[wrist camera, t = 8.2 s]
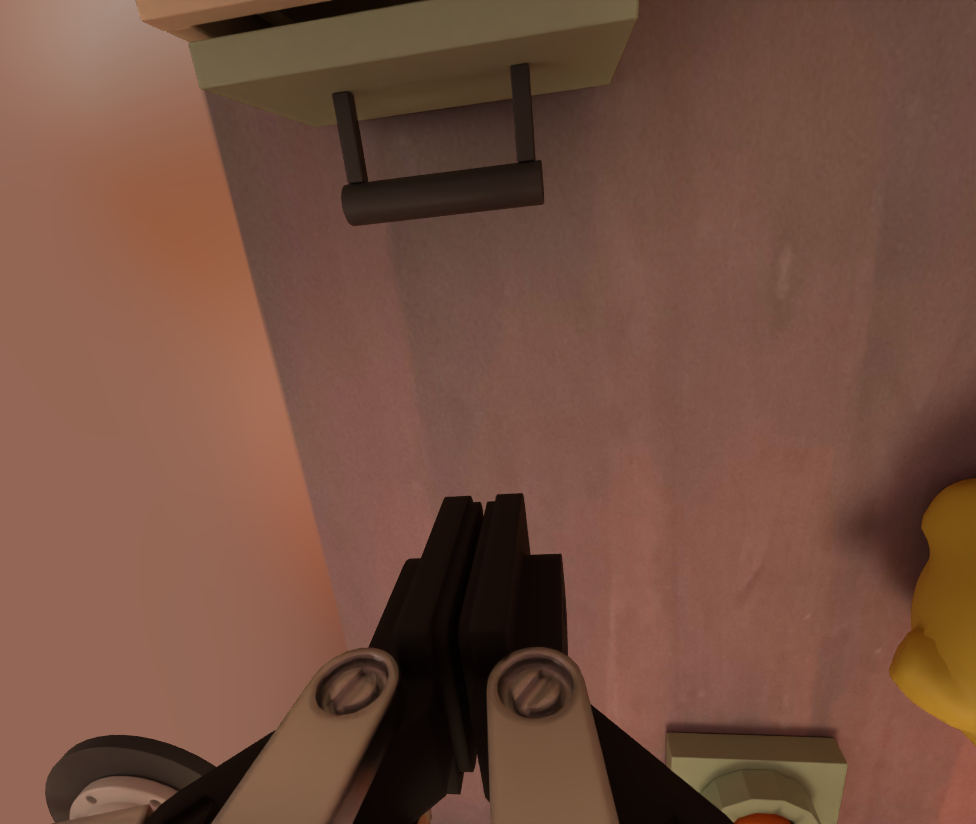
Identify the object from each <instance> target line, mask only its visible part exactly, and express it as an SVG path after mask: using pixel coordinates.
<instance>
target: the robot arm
mask: <svg viewBox="0 0 976 824" xmlns="http://www.w3.org/2000/svg"><path fill="white" fill-rule="evenodd" d="M477 755H478V760H479V766H480V771H481V777H482V782H483V788H484V793H485V797H486V799H487V800H488V801H489V802H490V819H491V824H734V823H733V822H732V821H731V819H730V818H729V817H728V816H727V815H726V814H724V813H723V812H722V811H721V810H720V809H718V808H717V807H716V806H715V805H713V804H712V803H711V802H710V801H709V800H707V799H706V798H705V797H704V796H702V795H701V794H700V793H699V792H697V791H696V790H695V789H694V788H693V787H691V786H690V785H689V784H688V783H686V782H685V781H684V780H683V779H682V778H680V777H679V776H678V775H677V774H675V773H674V772H673V771H672V770H671V769H669V768H668V767H667V766H666V765H664V764H663V763H662V762H661V761H660V760H658V759H657V758H656V757H655V756H653V755H652V754H651V753H650V752H649V751H647V750H646V749H645V748H644V747H642V746H641V745H640V744H639V743H638V742H636V741H635V740H634V739H633V738H631V737H630V736H629V735H628V734H627V733H625V732H624V731H623V730H622V729H620V728H619V727H618V726H617V725H616V724H614V723H613V722H612V721H611V720H609V719H608V718H607V717H606V716H605V715H603V714H602V713H601V712H600V711H598V710H597V709H596V708H595V707H593V706H592V705H591V704H590V701H589V697H588V693H587V689H586V685H585V681H584V678H583V675H582V673H581V671H580V669H579V667H578V665H577V664H576V663H575V662H574V661H573V660H572V659H571V658H570V657H568V639H567V613H566V597H565V584H564V573H563V562H562V555H561V554H541V555H530V547H529V538H528V529H527V520H526V512H525V503H524V496H523V493H517V494H498V495H497V496H496V500H495V501H491V502H487V505H486V509H485V513H484V516H483V509H482V505H481V502H473V500H472V497H471V496H456V497H445V498H444V500H443V503H442V505H441V508H440V510H439V513H438V515H437V518H436V521H435V523H434V526H433V528H432V531H431V534H430V536H429V539H428V541H427V544H426V546H425V549H424V552H423V554H422V557H421V558H414V559H408V560H407V561H406V562H405V564H404V566H403V568H402V570H401V573H400V575H399V577H398V580H397V582H396V584H395V587H394V589H393V591H392V594H391V596H390V598H389V601H388V603H387V605H386V608H385V610H384V612H383V615H382V617H381V619H380V622H379V624H378V626H377V629H376V631H375V633H374V636H373V638H372V640H371V643H370V645H369V647H368V648H358V649H354V650H350V651H347V652H345V653H343V654H340V655H338V656H336V657H334V658H333V659H331V660H330V661H329V662H327V663H326V664H325V665H323V666H322V667H321V668H320V669H319V670H318V672H317V673H316V674H315V675H314V676H313V678H312V679H311V680H310V682H309V683H308V684H307V686H306V687H305V689H304V690H303V692H302V693H301V695H300V696H299V698H298V699H297V700H296V702H295V703H294V705H293V706H292V708H291V709H290V710H289V712H288V713H287V715H286V716H285V718H284V719H283V721H282V722H281V723H280V725H279V726H278V728H277V729H276V730H275V731H273V732H271V733H270V734H268V735H267V736H265V737H264V738H262V739H260V740H259V741H257V742H256V743H254V744H252V745H251V746H249V747H248V748H246V749H244V750H243V751H241V752H240V753H238V754H237V755H235V756H233V757H232V758H230V759H229V760H227V761H226V762H224V763H222V764H221V765H219V766H218V767H216V768H214V769H213V770H211V771H210V772H208V773H206V774H205V775H203V776H202V777H200V778H198V779H197V780H195V781H194V782H192V783H191V784H189V785H187V786H186V787H184V788H183V789H181V790H179V791H178V790H176V789H174V788H172V787H170V786H167V785H165V784H162V783H160V782H157V781H154V780H150V779H146V778H142V777H135V776H110V777H105V778H101V779H98V780H96V781H94V782H92V783H90V784H89V785H88V786H87V787H85V788H84V789H83V791H82V792H81V793H80V794H79V796H78V797H77V798H76V800H75V801H74V802H73V804H72V806H71V809H70V820H68V821H63V822H58V823H53V824H430V823H431V818H432V815H431V808H432V807H433V806H434V805H435V804H436V803H438V802H439V801H440V800H441V799H442V798H443V797H445V796H446V794H461V788H462V781H463V775H464V772H473V771H474V769H475V764H476V757H477Z"/></svg>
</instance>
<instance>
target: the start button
mask: <svg viewBox="0 0 976 824" xmlns="http://www.w3.org/2000/svg"><path fill="white" fill-rule="evenodd" d="M734 824H791V822H790V821H789V820H788V819H786V818H784V817H782V816H780V815H777V814H765V813H754V814H751V815H748V816H744V817H741V818H738V819H737V820H736V821H735V822H734Z"/></svg>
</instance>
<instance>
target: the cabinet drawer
mask: <svg viewBox="0 0 976 824" xmlns="http://www.w3.org/2000/svg"><path fill="white" fill-rule="evenodd" d="M257 15H258V16H260V17H261V18H263V19H264V20H266V21H268V22H269V23H271V24H272V25H274V26H275V27H272V28H266V29H261V30H255V31H249V32H244V33H238V34H233V35H227V36H221V37H216V38H210V39H205V40H199V41H193V42H190V43H189V48H190V52H191V55H192V59H193V63H194V67H195V71H196V75H197V79H198V83H199V87H200V88H201V89H203V90H206V91H209V92H212V93H215V94H218V95H221V96H223V97H226V98H229V99H232V100H235V101H238V102H241V103H244V104H247V105H250V106H253V107H256V108H259V109H262V110H265V111H268V112H271V113H274V114H277V115H279V116H282V117H285V118H288V119H291V120H294V121H297V122H300V123H303V124H306V125H309V126H312V127H319V126H326V125H333V124H337V126H338V131H339V137H340V142H341V148H342V153H343V159H344V164H345V170H346V175H347V181H348V183H349V184H348V185H345V186H343V188H342V193H341V200H342V207H343V211H344V214H345V217H346V219H347V221H348V222H349V224H350V225H352V226H359V225H368V224H376V223H385V222H394V221H403V220H411V219H420V218H429V217H438V216H446V215H455V214H464V213H472V212H481V211H490V210H499V209H507V208H516V207H525V206H534V205H542V204H544V186H543V171H542V162H541V160H537V161H535V160H536V157H535V142H534V127H533V113H532V98H531V96H532V95H539V94H546V93H553V92H560V91H567V90H573V89H580V88H587V87H594V86H601V85H608V84H610V82H611V80H612V77H613V75H614V73H615V70H616V68H617V66H618V63H619V61H620V59H621V56H622V54H623V52H624V49H625V47H626V44H627V42H628V40H629V37H630V35H631V33H632V30H633V28H634V26H635V23H636V21H637V19H638V16H639V0H330V1H325V2H319V3H314V4H308V5H303V6H297V7H292V8H286V9H281V10H275V11H270V12H264V13H259V14H257ZM505 99H512V100H513V113H514V126H515V139H516V151H517V161H518V163H513V164H505V165H498V166H490V167H482V168H474V169H466V170H458V171H450V172H442V173H435V174H427V175H419V176H411V177H403V178H395V179H387V180H379V181H372V182H368V177H367V171H366V165H365V159H364V153H363V147H362V141H361V135H360V129H359V123H358V121H361V120H367V119H374V118H381V117H388V116H395V115H402V114H409V113H415V112H422V111H429V110H436V109H443V108H450V107H457V106H464V105H470V104H477V103H484V102H491V101H498V100H505Z"/></svg>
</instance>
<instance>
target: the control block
mask: <svg viewBox="0 0 976 824" xmlns="http://www.w3.org/2000/svg"><path fill="white" fill-rule="evenodd" d="M666 766H667V767H668V768H669V769H671V770H672V771H673V772H674V773H675V774H677V775H678V776H679V777H680V778H682V779H683V780H684V781H685V782H686V783H688V784H689V785H690V786H691V787H693V788H694V789H695V790H696V791H697V792H699V793H700V794H701V795H702V796H704V797H705V798H706V799H707V800H709V801H710V802H711V803H712V804H713V805H715V806H716V807H717V808H718V809H720V810H721V811H722V812H723V813H724V814H726V815H727V816H728V817H729V818H730V819H731V821H732V822H733V823H734V822H735V821H736V820H737V819H738V818H741V817H744V816H748V815H751V814H754V813H765V814H777V815H780V816H782V817H784V818H786V819H788V820H789V821H790V822H791V824H837V820H838V815H839V809H840V804H841V799H842V793H843V788H844V782H845V777H846V771H847V766H848V763H847V761H846V760H845V758H844V756H843V754H842V752H841V750H840V748H839V746H838V744H837V742H836V741H835V739H834V738H823V737H793V736H763V735H733V734H702V733H672V732H667V733H666Z"/></svg>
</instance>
